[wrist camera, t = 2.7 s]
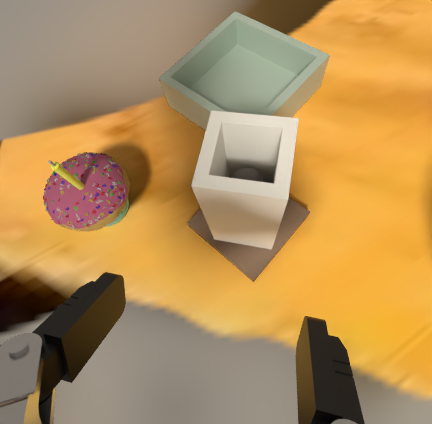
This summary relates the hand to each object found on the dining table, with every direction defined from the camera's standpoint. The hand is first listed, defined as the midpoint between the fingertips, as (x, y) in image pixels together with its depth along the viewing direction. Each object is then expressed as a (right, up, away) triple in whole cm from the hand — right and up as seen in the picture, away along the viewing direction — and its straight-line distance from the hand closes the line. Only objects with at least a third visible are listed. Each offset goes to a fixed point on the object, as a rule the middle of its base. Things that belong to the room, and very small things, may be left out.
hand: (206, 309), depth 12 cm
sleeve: (+4, +4, +16) cm, 17 cm away
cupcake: (-12, +5, +20) cm, 24 cm away
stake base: (+4, +3, +18) cm, 18 cm away
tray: (+4, +19, +24) cm, 31 cm away
